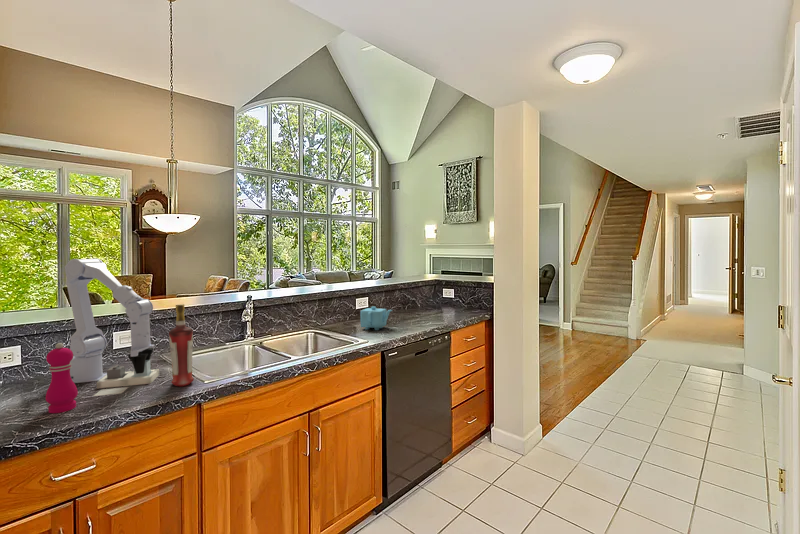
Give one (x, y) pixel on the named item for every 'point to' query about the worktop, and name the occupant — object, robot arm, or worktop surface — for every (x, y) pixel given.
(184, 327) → the liquor
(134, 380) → the white tray
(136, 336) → the robot arm
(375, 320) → the teapot
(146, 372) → the plug
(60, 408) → the pepper mill
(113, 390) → the mat
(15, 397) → the worktop surface
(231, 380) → the worktop surface
